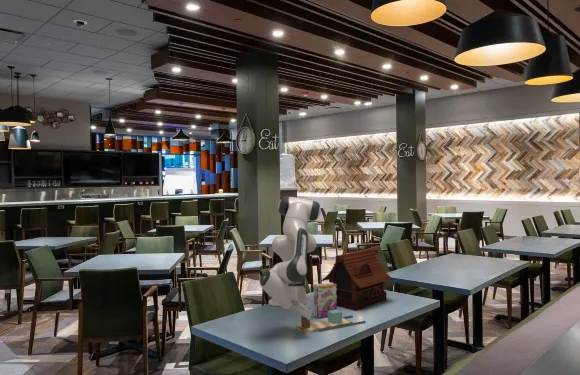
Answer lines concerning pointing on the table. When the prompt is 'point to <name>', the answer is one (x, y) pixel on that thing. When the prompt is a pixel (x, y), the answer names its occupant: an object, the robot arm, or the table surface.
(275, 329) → the table surface
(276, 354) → the table surface
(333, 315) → the cube
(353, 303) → the house
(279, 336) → the table surface
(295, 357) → the table surface
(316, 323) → the tan long piece
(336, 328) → the track
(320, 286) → the candy bar box
